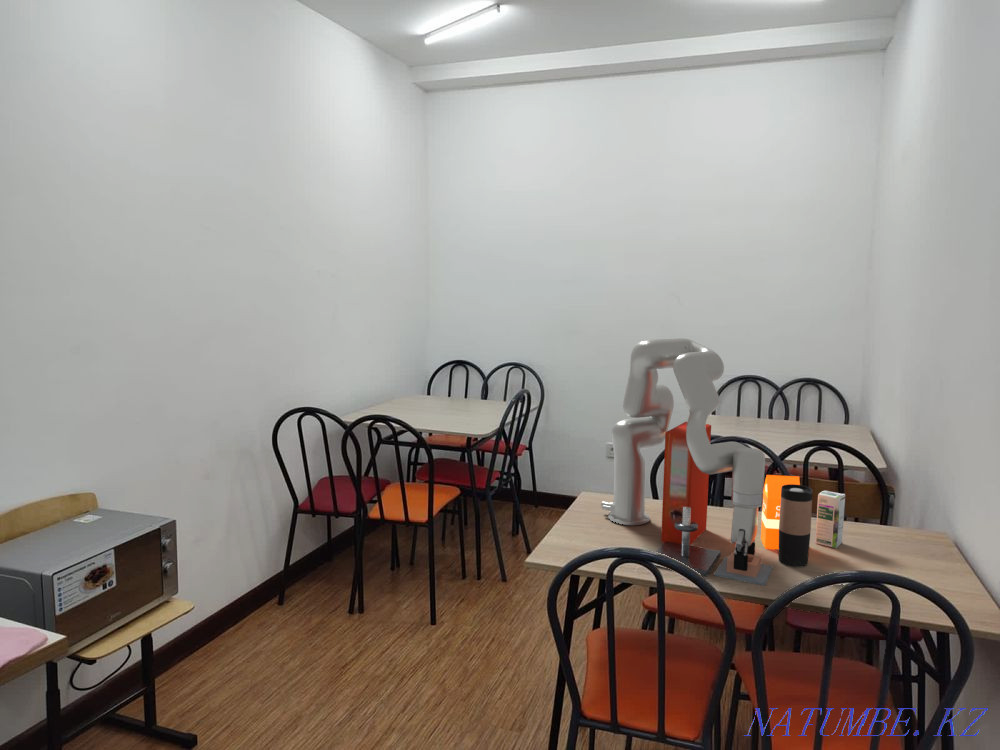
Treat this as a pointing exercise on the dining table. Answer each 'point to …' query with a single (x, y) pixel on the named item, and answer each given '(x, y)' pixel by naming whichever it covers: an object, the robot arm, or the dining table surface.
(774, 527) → the orange juice
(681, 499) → the file binder
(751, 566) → the collar
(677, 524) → the stand
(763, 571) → the mat
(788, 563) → the travel mug
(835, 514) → the syrup box
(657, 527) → the dining table surface
